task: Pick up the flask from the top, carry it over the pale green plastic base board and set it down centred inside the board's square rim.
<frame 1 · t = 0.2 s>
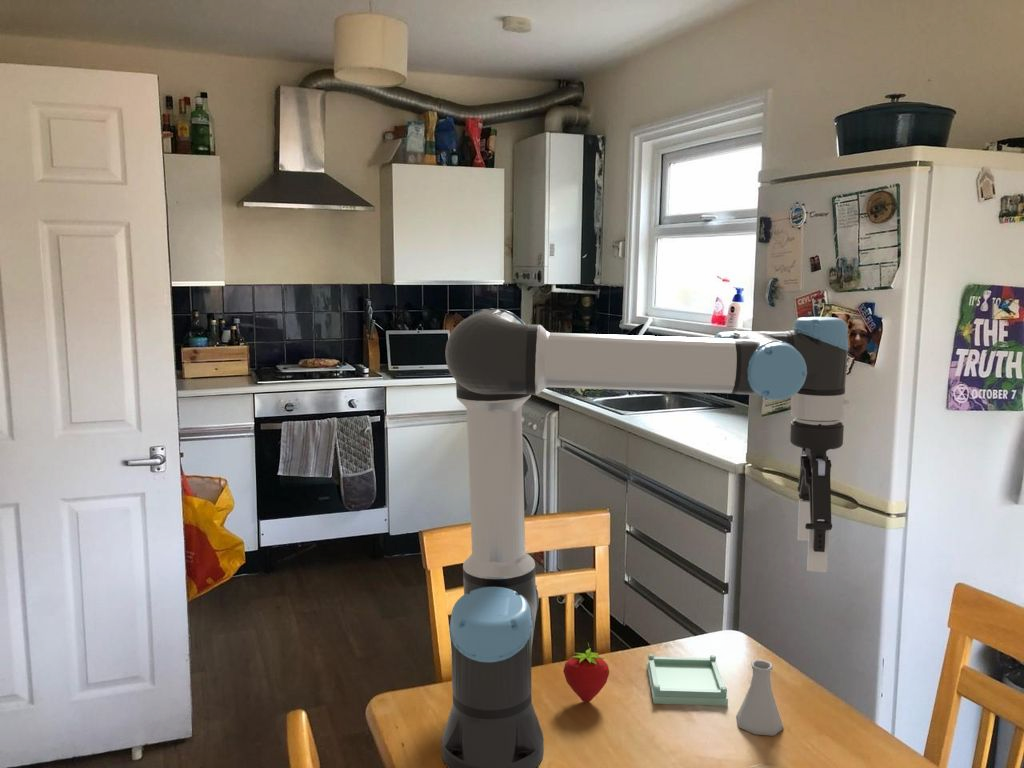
hand: (811, 554, 128), 27 cm above the table, tool pointing down, fingers open, 13 cm apart
strawberry: (586, 702, 137), on the table
base board: (685, 685, 141), on the table
flask: (759, 725, 130), on the table
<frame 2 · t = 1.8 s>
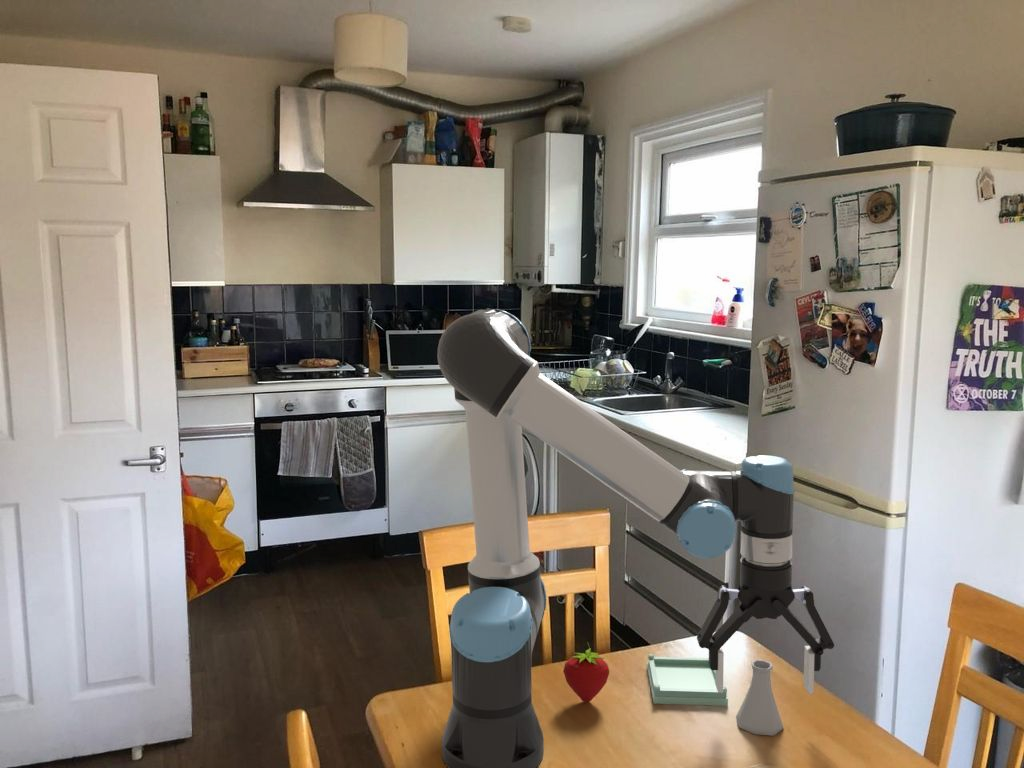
hand: (763, 689, 129), 6 cm above the table, tool pointing down, fingers open, 13 cm apart
nothing on the table moved.
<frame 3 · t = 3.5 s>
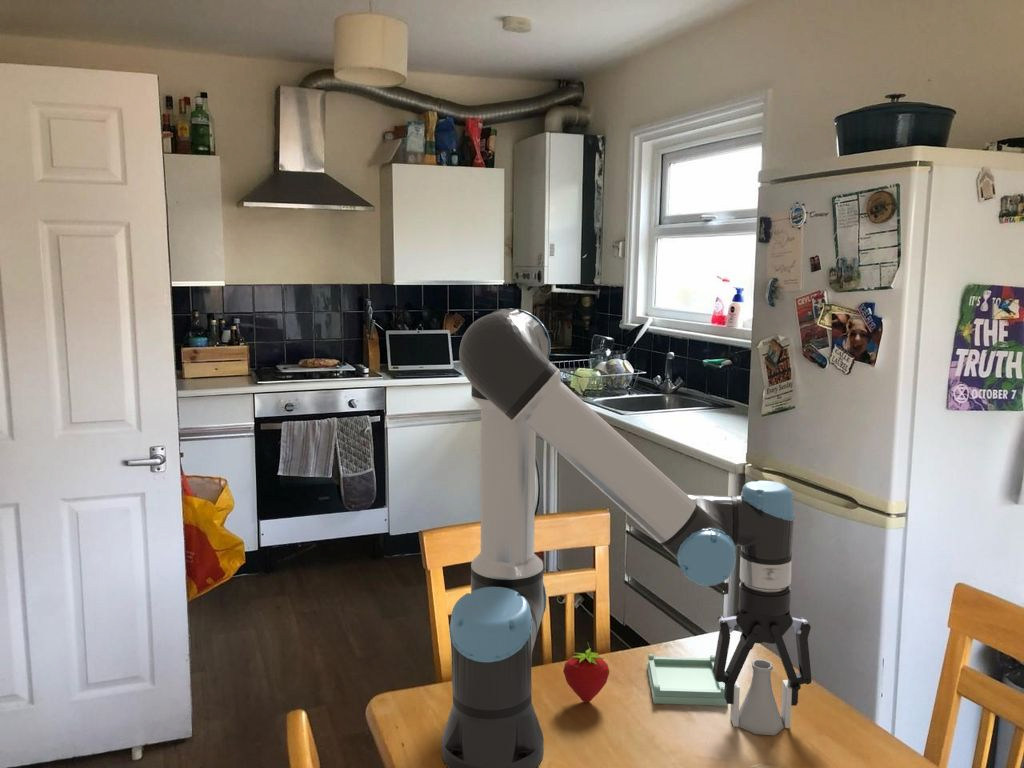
hand: (759, 722, 130), 0 cm above the table, tool pointing down, fingers closed on flask, 7 cm apart
flask: (759, 724, 130), on the table, touching gripper
everything else where it was.
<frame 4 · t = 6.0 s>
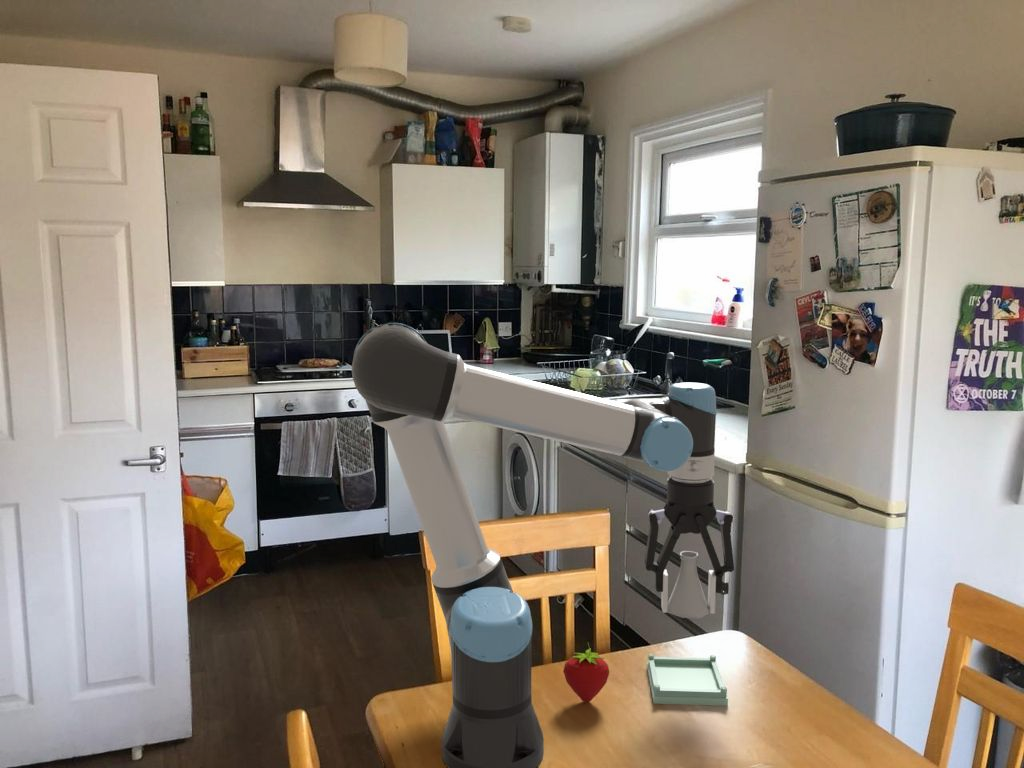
hand: (687, 609, 139), 14 cm above the table, tool pointing down, fingers closed on flask, 7 cm apart
flask: (687, 612, 139), point 13 cm above the table, touching gripper
everything else where it was.
when the fingers open (3 cm above the table, at t = 8.6 s): flask drops 1 cm, resting on base board.
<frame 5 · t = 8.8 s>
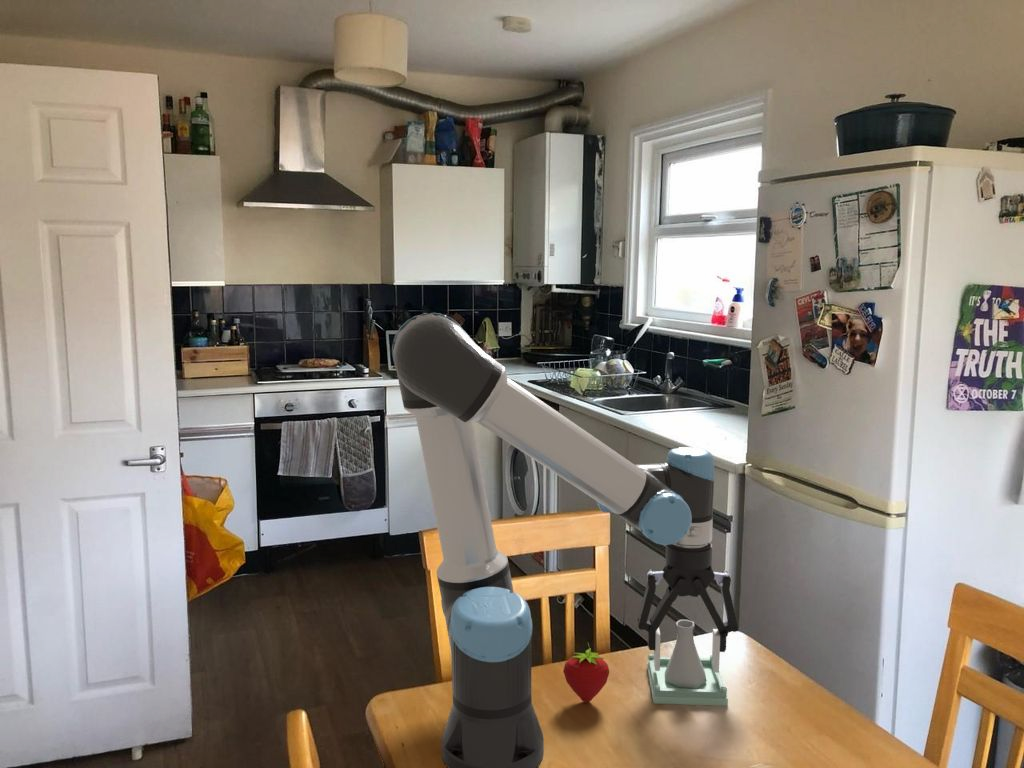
hand: (686, 667, 141), 3 cm above the table, tool pointing down, fingers open, 9 cm apart
flask: (685, 679, 141), point 1 cm above the table, touching base board
everything else where it was.
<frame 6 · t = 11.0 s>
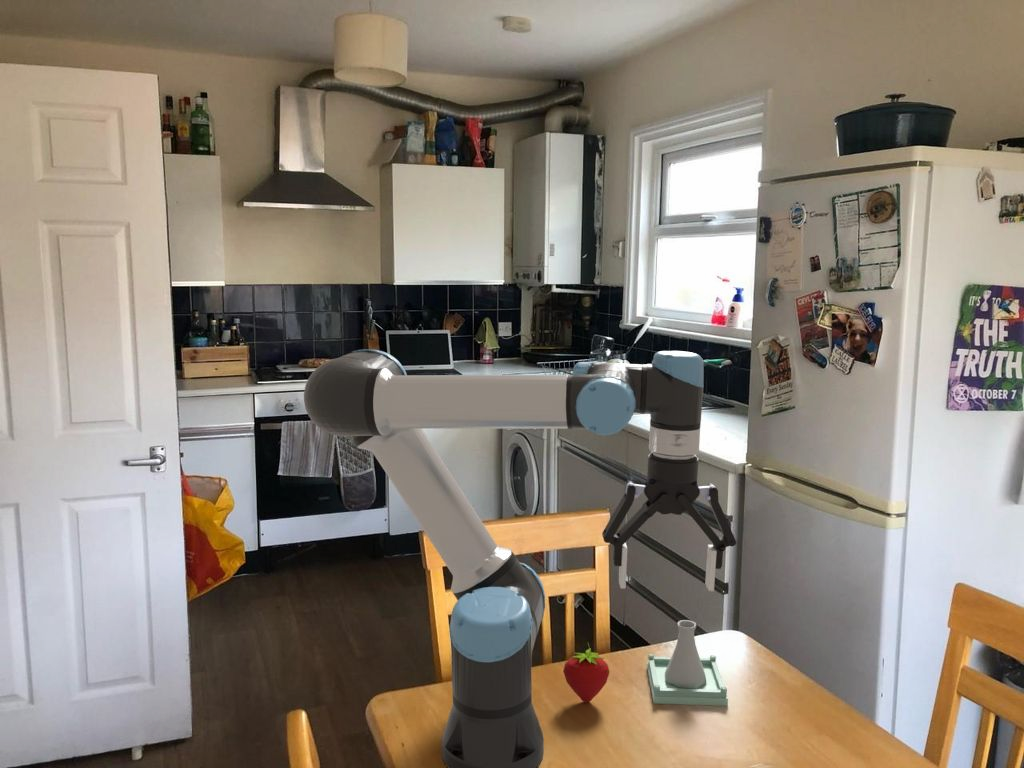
hand: (665, 586, 129), 22 cm above the table, tool pointing down, fingers open, 13 cm apart
nothing on the table moved.
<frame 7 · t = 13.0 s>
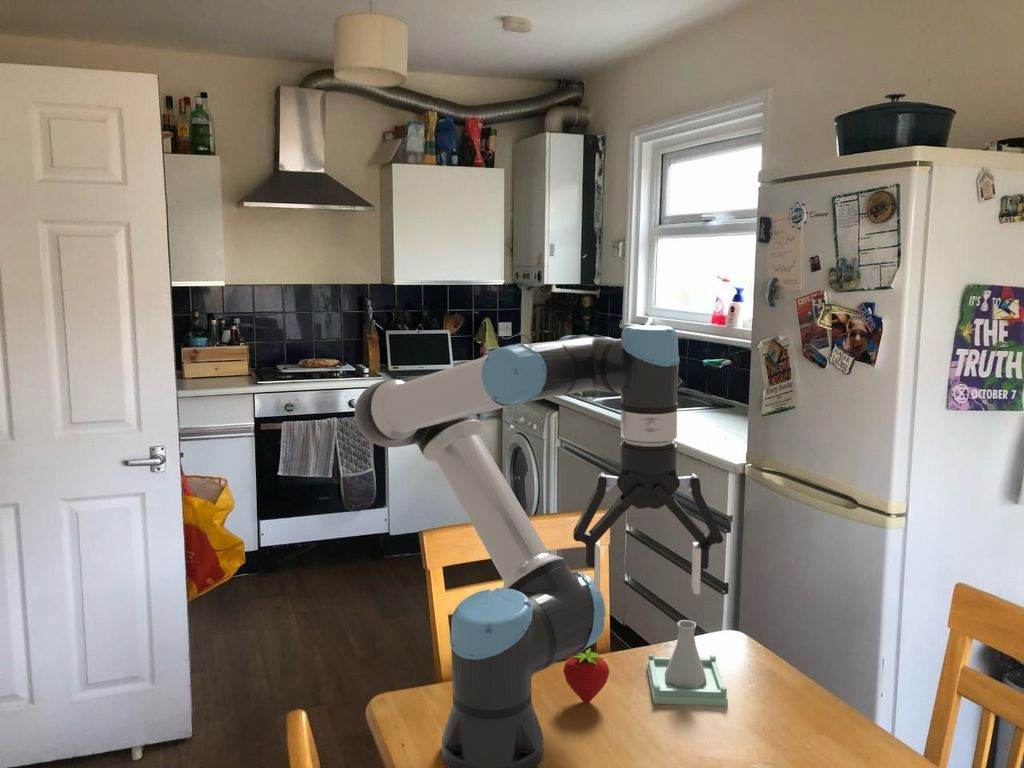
hand: (646, 589, 115), 27 cm above the table, tool pointing down, fingers open, 13 cm apart
nothing on the table moved.
at the end: flask 0.1 cm from the base board (horizontally); flask point 1.0 cm above the table; flask tilted 0° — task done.
